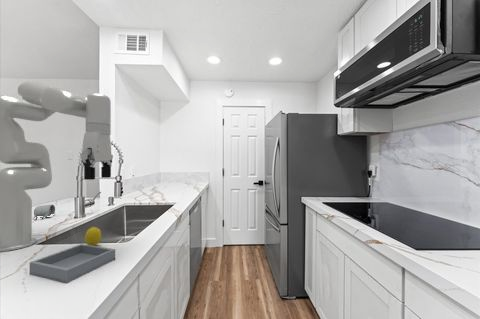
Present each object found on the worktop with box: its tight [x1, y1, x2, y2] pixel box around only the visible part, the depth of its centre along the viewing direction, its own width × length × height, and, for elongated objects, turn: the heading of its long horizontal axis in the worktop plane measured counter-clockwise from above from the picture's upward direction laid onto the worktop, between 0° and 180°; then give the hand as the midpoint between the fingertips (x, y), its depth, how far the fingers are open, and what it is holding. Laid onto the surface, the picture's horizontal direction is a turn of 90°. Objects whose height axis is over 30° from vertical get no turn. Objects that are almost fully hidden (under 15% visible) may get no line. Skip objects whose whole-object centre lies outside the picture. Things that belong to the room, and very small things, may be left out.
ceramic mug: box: [33, 204, 56, 219], centre depth 135 cm, size 11×8×8 cm
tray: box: [29, 243, 116, 284], centre depth 73 cm, size 16×16×4 cm
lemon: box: [84, 226, 102, 246], centre depth 89 cm, size 6×6×8 cm
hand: (98, 178), depth 79 cm, fingers open, 9 cm apart
